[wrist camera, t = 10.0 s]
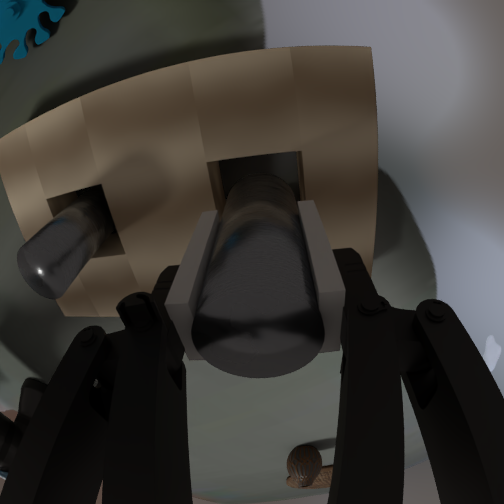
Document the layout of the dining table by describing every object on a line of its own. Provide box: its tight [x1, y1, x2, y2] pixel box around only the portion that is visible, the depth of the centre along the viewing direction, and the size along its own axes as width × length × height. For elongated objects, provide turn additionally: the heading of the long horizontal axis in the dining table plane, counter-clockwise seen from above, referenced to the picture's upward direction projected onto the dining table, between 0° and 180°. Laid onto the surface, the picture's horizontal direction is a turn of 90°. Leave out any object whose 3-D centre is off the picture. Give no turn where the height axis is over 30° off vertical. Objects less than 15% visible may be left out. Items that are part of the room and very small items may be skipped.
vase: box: [287, 446, 322, 488], centre depth 45 cm, size 7×7×9 cm
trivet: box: [287, 465, 333, 489], centre depth 63 cm, size 25×25×2 cm
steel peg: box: [191, 173, 325, 378], centre depth 13 cm, size 4×4×10 cm
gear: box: [0, 0, 65, 64], centre depth 10 cm, size 11×6×10 cm
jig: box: [0, 46, 378, 317], centre depth 20 cm, size 18×28×4 cm, turn 98°
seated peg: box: [17, 184, 116, 299], centre depth 18 cm, size 4×4×10 cm
